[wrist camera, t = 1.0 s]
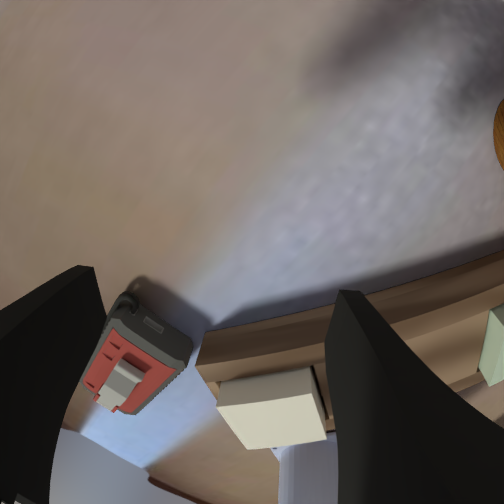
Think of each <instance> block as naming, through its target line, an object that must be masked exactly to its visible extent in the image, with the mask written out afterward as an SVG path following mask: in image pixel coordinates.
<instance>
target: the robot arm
mask: <svg viewBox="0 0 504 504" xmlns="http://www.w3.org/2000/svg"><path fill="white" fill-rule="evenodd" d="M106 320H107V316H106V313H105V309H104V306H103V302H102V299H101V295H100V291H99V287H98V283H97V279H96V275H95V271H94V267H89V266H81V265H77V266H75V267H72V268H70V269H68V270H66V271H65V272H63V273H61V274H59V275H57V276H56V277H54V278H52V279H51V280H49V281H47V282H46V283H44V284H43V285H41V286H39V287H38V288H36V289H34V290H33V291H31V292H30V293H28V294H26V295H25V296H23V297H22V298H20V299H18V300H17V301H15V302H13V303H12V304H10V305H8V306H7V307H5V308H3V309H2V310H0V504H1V502H3V503H5V504H14V502H15V501H17V502H19V503H21V504H49V492H50V479H51V472H52V471H51V470H52V465H53V458H54V453H55V449H56V444H57V440H58V435H59V432H60V428H61V425H62V422H63V418H64V415H65V412H66V409H67V407H68V404H69V402H70V399H71V397H72V395H73V393H74V391H75V389H76V387H77V384H78V382H79V380H80V378H81V376H82V374H83V372H84V370H85V368H86V366H87V364H88V362H89V360H90V358H91V356H92V354H93V353H94V351H95V349H96V346H97V344H98V342H99V339H100V336H101V334H102V331H103V328H104V325H105V322H106ZM324 346H325V366H326V376H327V382H328V388H329V394H330V400H331V406H332V412H333V418H334V424H335V430H336V432H331V433H326V435H327V439H326V440H321V441H315V442H309V443H302V444H296V445H288V446H280V447H271V448H270V449H271V450H272V452H273V453H274V455H275V456H276V458H277V459H278V461H279V462H280V473H279V495H278V504H504V429H503V428H502V427H500V426H499V425H497V424H496V423H494V422H493V421H491V420H490V419H488V418H487V417H486V416H484V415H483V414H482V413H480V412H479V411H478V410H476V409H475V408H474V407H473V406H471V405H470V404H469V403H467V402H466V401H465V400H464V399H462V398H461V397H460V396H459V395H458V394H457V393H455V392H454V391H453V390H452V389H451V388H450V387H449V386H448V385H447V384H445V383H444V382H443V381H442V380H441V379H440V378H439V377H438V376H437V375H436V374H435V373H434V372H433V371H432V370H431V369H430V368H429V367H428V366H427V365H426V364H425V363H424V362H423V361H422V360H421V359H420V358H419V357H418V356H417V355H416V354H415V353H414V352H413V351H412V350H411V349H410V347H409V346H408V345H407V344H406V343H405V342H404V341H403V340H402V339H401V338H400V336H399V335H398V334H397V333H396V332H395V331H394V330H393V328H392V327H391V326H390V325H389V324H388V323H387V321H386V320H385V319H384V318H383V317H382V316H381V314H380V313H379V312H378V311H377V310H376V309H375V308H374V306H373V305H372V304H371V303H370V302H369V301H368V299H367V298H366V297H365V296H364V295H363V294H362V293H361V292H360V291H350V290H339V293H338V296H337V300H336V303H335V307H334V311H333V314H332V317H331V321H330V324H329V328H328V331H327V334H326V337H325V341H324Z"/></svg>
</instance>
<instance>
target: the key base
mask: <svg viewBox="0 0 504 504" xmlns="http://www.w3.org/2000/svg"><path fill="white" fill-rule="evenodd" d="M365 297H366V298H367V299H368V301H369V302H370V303H371V304H372V305H373V306H374V308H375V309H376V310H377V311H378V312H379V313H380V314H381V316H382V317H383V318H384V319H385V320H386V321H387V323H388V324H389V325H390V326H391V327H392V328H393V330H394V331H395V332H396V333H397V334H398V335H399V336H400V338H401V339H402V340H403V341H404V342H405V343H406V344H407V345H408V346H409V347H410V349H411V350H412V351H413V352H414V353H415V354H416V355H417V356H418V357H419V358H420V359H421V360H422V361H423V362H424V363H425V364H426V365H427V366H428V367H429V368H430V369H431V370H432V371H433V372H434V373H435V374H436V375H437V376H438V377H439V378H440V379H441V380H442V381H443V382H444V383H445V384H447V385H448V386H449V387H450V388H451V389H452V390H453V391H454V392H455V393H456V392H459V391H461V390H463V389H466V388H468V387H470V386H473V385H475V384H477V383H479V382H481V381H484V380H485V378H484V376H483V374H482V372H481V371H480V369H479V367H478V364H479V359H480V355H481V351H482V346H483V342H484V337H485V332H486V326H487V320H488V314H489V309H492V308H494V307H496V306H498V305H501V304H503V303H504V250H502V251H500V252H497V253H494V254H492V255H489V256H486V257H484V258H481V259H478V260H475V261H472V262H470V263H467V264H464V265H461V266H458V267H455V268H452V269H449V270H446V271H443V272H440V273H437V274H434V275H431V276H428V277H425V278H422V279H419V280H415V281H412V282H409V283H406V284H403V285H399V286H396V287H392V288H389V289H386V290H382V291H379V292H375V293H372V294H368V295H365ZM334 307H335V304H331V305H327V306H323V307H319V308H315V309H311V310H307V311H303V312H299V313H295V314H290V315H286V316H282V317H277V318H273V319H268V320H264V321H259V322H255V323H250V324H245V325H240V326H235V327H230V328H225V329H220V330H215V331H210V332H205V335H204V338H203V341H202V344H201V348H200V351H199V354H198V357H197V361H196V364H195V367H196V369H197V370H198V372H199V374H200V375H201V377H202V378H203V380H204V381H205V383H206V384H207V386H208V388H209V389H210V391H211V392H212V394H213V395H214V397H215V398H216V400H217V399H218V394H219V390H220V385H221V381H225V380H232V379H239V378H246V377H252V376H258V375H264V374H270V373H276V372H281V371H287V370H292V369H297V368H302V367H306V366H311V367H312V370H313V373H314V376H315V380H316V383H317V386H318V390H319V393H320V396H321V399H322V403H323V406H324V412H325V423H326V431H327V430H332V429H335V424H334V418H333V412H332V406H331V400H330V394H329V388H328V382H327V376H326V366H325V346H324V341H325V337H326V334H327V331H328V328H329V324H330V321H331V317H332V314H333V311H334Z"/></svg>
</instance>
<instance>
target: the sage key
mask: <svg viewBox="0 0 504 504" xmlns="http://www.w3.org/2000/svg"><path fill="white" fill-rule="evenodd" d="M478 367H479V369H480V371H481V372H482V374H483V376H484V378H485V380H486V382H487V383H488V385H489V387H490V386H492V385H494V384H496V383H498V382H500V381H502V380H504V303H503V304H501V305H498V306H496V307H494V308H492V309H489V314H488V320H487V326H486V332H485V337H484V342H483V346H482V351H481V355H480V359H479V364H478Z"/></svg>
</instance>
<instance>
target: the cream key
mask: <svg viewBox="0 0 504 504" xmlns="http://www.w3.org/2000/svg"><path fill="white" fill-rule="evenodd" d="M216 408H217V409H218V411H219V412H220V413H221V415H222V416H223V418H224V419H225V420H226V422H227V423H228V425H229V426H230V427H231V429H232V430H233V431H234V433H235V434H236V435H237V437H238V438H239V439H240V441H241V442H242V443H243V445H244V446H245V447H246V448H247V450H249V449H261V448H271V447H280V446H288V445H296V444H302V443H309V442H315V441H321V440H326V439H327V435H326V423H325V412H324V406H323V403H322V399H321V396H320V393H319V390H318V386H317V383H316V380H315V376H314V373H313V370H312V367H311V366H306V367H302V368H297V369H292V370H287V371H281V372H276V373H270V374H264V375H258V376H252V377H246V378H239V379H232V380H225V381H221V385H220V390H219V394H218V399H217V404H216Z"/></svg>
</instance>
